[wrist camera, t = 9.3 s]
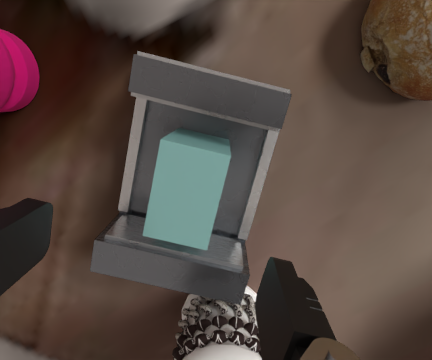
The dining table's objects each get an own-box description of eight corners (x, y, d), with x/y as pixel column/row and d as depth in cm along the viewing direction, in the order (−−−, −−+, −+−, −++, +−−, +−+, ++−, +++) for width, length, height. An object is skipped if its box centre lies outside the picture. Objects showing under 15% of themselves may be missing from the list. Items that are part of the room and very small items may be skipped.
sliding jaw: (157, 62, 21) (134, 49, 16) (276, 92, 22) (293, 89, 16) (151, 96, 22) (127, 95, 17) (266, 125, 22) (280, 133, 17)
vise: (149, 61, 23) (121, 47, 17) (284, 96, 24) (306, 94, 17) (121, 231, 27) (89, 271, 21) (236, 258, 27) (240, 305, 21)
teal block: (179, 127, 23) (160, 139, 16) (228, 139, 23) (231, 156, 16) (165, 198, 24) (142, 235, 18) (211, 209, 25) (206, 250, 18)
